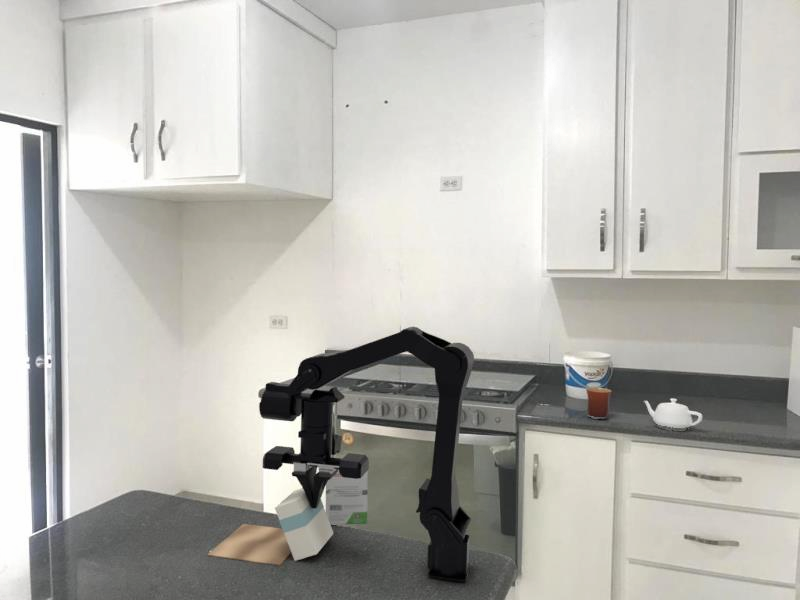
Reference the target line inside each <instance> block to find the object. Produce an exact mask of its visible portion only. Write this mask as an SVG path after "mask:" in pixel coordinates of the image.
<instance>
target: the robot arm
mask: <svg viewBox="0 0 800 600" xmlns="http://www.w3.org/2000/svg"><path fill="white" fill-rule="evenodd" d="M403 353H409V354H411V355H413V356H414V357H415V358H417V359H418V360H420V361H421V362H422V363H423V364H425V365H427V366H429V367H431V368H433V369H434V377H435V378H434V379H435V386H436V390H437V394H438V405H437V415H436V427H435V436H434V446H433V457H432V465H431V467H432V469H431V476H430V478H426V479H424V481H423V483H422V484H421V486H419V488H418V506H417V509H416V510H415V513H416V514H417V513H419V521H420V524H421V525H422V526H423V527H424V529H425V530H427V533H428V535H429V539H430V541H429V543H428V545H427V558H426V559H427V561H426V562H427V563H426V564H427V565H426V568H427V570H428V573H427V577H428V578H431V579H437V580H438V579H439V580H443V581H444V580H445V581H451V582H452V581H453V582H459V583H466V582H467V579H468V575H469V571H470V567H471V562H469V561H470V559H469V557H470V535H469V534H467V531H468V529H469V526H470V524H471V522H472V518H471V517H470V516H469V514H468V513H467V512H466V511H465V509H464V508H462V506H461V505H460V496H459V487H458V483H457V482H458V481H457V477H456V469H457V459H458V451H459V449H458V448H459V441H460V440H459V439H460V428H461V420H462V411H463V410H462V409H463V399H464V394H465V391H466V389H467V385H468V384H469V381H470V376H471V374H472V370H473V366H474V363H475V357H474V356H475V355H474V353H473V351H472V349H470V347H469V346H468V345H466V344H465V343H462V342H453V343H452V342H450V341H448V340H446V339H444V338H441V337H438V336H436V335H433V334H430V333H429V332H426V331H424V330H422V329H420V328H419V327H417V326H409V327H406V328H403V329H402V330H400V331H399V332H396V333H393V334H391V335H388V336H385V337H382V338H379V339H377V340H374V341H370V342H368V343H365V344H363V345H360V346H356V347H353V348H351V349H347V350H339V351H338V350H337V351H336V350H335V351H331V352H325V353H324V352H323V353H319V354H317V355H313V356H310V357H307V358H304V359H303V360H302V361H300V363H299V365H298V368H297V374H296V376H295V377H294V379H292V380H291V382H290V383H289V384H285V383H280V382H276V381H271V382H268V383H267V382H266V383H265V389H264V392H263V393H262V395H261V398H260V402H259V403H258V404H259V405H258V408H259V409H258V411H259V415H260V417H261V418H262V419H266V420H273V421H284V422H295V420H296V419H297V418H298V417H300V416H301V417H300V430H299V431H298V432H297V433H298V436H297V437H298V439H300V447H299V448H300V452H299V453H295V449H294V447H293V446H292V447H291V446H283V445H282V446H281V445H280V446H279V445H275V446H273V448H270V449H269V450H268V451H266V452H265V453H264V454H263V457H262V468H263V469H266V470H273V471H278V470H279V469H280V468H281V467H282V466H283V464H289V465H293V471H292V472H291V476H292V477H295V478H296V479H297V481H298V482H299V484H300V486H301V488H303V489H304V492H305V494H306V496H307V498H308V501H309V503H310V505H311V507H312V508H315V509H316V508H317V507H318V505H319V502H320V499H321V500H322V496H323V494H324V490H325V489H326V484H327V482H328V480H330V479H331V478H332V477H333V476H334V475H335V474H336V473H337V472H338V470H339V473H340V474H341V476H342V477H345V478H354V479H359V478H361V477H362V476H363V475H364V474H365V473H366V472H367V471H368V472H369V469H370V460H369V458H368V456H367V455H366V454H360V453H350V452H348V453H346V455H345V456H344V457H342V458H340V457H332V456H335V455H336V454H338V453H339V454H340V453H341V448H342V440H343V436H342V435H339V434H336V430H335V429H336V428H335V426H333V422H334V420H333V418H334V403H335V404H336V403H339V402H341V401H342V400H344V399H345V398H346V397H345V395H344V394H343V393H342V392H341V391H340V390H339V389H338V387H337V386H334V387H331V388H330V389H329V390H327V389H326V390H324V389H320V388H322V387H325V386H326V385H327V386H328V384H331V383H332V382H334V381H337V380H338V379H340V378H341V377H343V376H345V375H346V374H349V373H350V372H352V371H354V370H356V369H359V368H362V367H365V366H369V365H372V364H374V363H377V362H380V361H382V360H386V359H388V358H391V357H395V356H398V355H400V354H403ZM307 390H312V392H311V393H307V392H305V391H307Z"/></svg>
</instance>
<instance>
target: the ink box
mask: <svg viewBox="0 0 800 600" xmlns="http://www.w3.org/2000/svg"><path fill="white" fill-rule="evenodd" d="M368 472H369V470H368V471H367V472H366V473H365V474H364V475H363V476H362V477H361V478H359V479H354V478H345V477H342V476H341V474H340V473H339V470H338V472H337V473H336V474H335V475H334V476H333V477H332V478H331V479H330V480H328V482H327V484H326V486H325V512H326V515H327V517H328V520H329V523H330V525H333V526H334V525H335V526H336V525H337V526H338V525H363V524H364V525H365V524H368V478H369V477H368V475H369V473H368Z"/></svg>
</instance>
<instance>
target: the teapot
mask: <svg viewBox="0 0 800 600" xmlns="http://www.w3.org/2000/svg"><path fill="white" fill-rule="evenodd" d="M669 400H670V401H671V402H660V403H659V404H658V405H657V406H656V408H655V410H653V408H652V406H651V404H650V403H649V401H648V400H643V403H644V404H645V406H646V408H647V410H648V413H649V415H650V416H651V418H652V419H653V422H655V423H656V424H658V425H661V426H667V427H671V428H672V427H673V428H685V427H690V426H691V427H692V426H697V425H698V424H700V423H701V422H702V421H703V414H702V413H701V412H698V411H693V410H690V409H689V407H688V406H687V405H684V404H680V403H679V402H678V403H677V401H678V399H677V398H674V397H673V398H670V399H669ZM692 415H693V416H698V418H697V420H696V421H694V420H693V418H692ZM655 423H654V424H655ZM656 424H655V425H656ZM691 427H690V428H691Z"/></svg>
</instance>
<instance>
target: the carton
mask: <svg viewBox="0 0 800 600" xmlns="http://www.w3.org/2000/svg"><path fill="white" fill-rule="evenodd" d="M274 510H275V513H276V514H277V518H278V521H279V524H280V527H281V529H282V530H283V532H284V534H285V537H286V539H287V542H288V544H289V547H290V550H291V552H292V553H291V555H292V558H293V560H294V562H296V561H299V560H303V559H306V558H308V557H312V556H316V555H318V553H319V552H320V551H321V549H323V547H324V546H325V545H326V544H327V542H328V541H329V540H330V538H331V537H332V536H333V535H334V530H333V528H332V526H331V525H330V523H329V520H328V517H327V515H326V508H325V506H324V502H323V501H322V498H321V499H320V502H319V505H318V507H317V508H316V509H315V508H312V507H311V505H310V503H309V501H308V498H307V496H306V494H305V492H304V489H303V488H302V487H301V488H299V489H296V490H293V491H292V492H291V493H290V494H289V495H287V497H285V498H284V499H283V500H282V501H281V502H280V503H279V504H277V505H276V506H275V507H274Z"/></svg>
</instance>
